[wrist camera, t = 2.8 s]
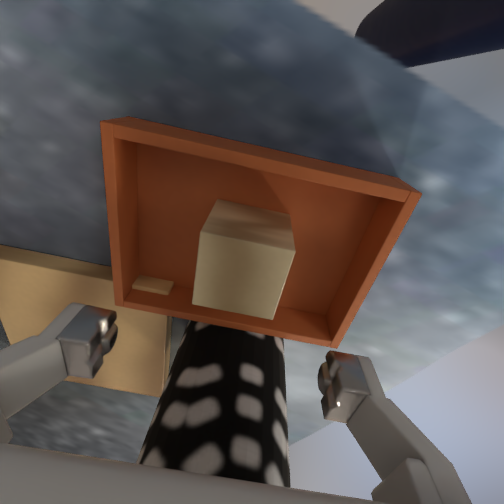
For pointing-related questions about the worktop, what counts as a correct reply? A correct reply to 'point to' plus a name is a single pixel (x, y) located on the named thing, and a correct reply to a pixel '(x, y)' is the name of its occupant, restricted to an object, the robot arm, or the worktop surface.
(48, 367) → the robot arm
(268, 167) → the orange-brown tray
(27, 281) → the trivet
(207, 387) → the white-spotted black cylinder
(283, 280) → the block
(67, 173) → the worktop surface
